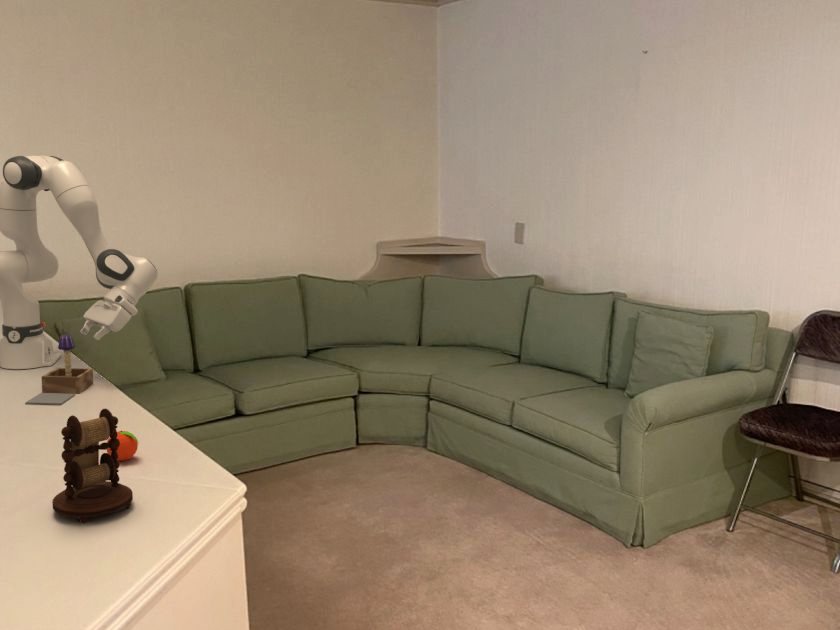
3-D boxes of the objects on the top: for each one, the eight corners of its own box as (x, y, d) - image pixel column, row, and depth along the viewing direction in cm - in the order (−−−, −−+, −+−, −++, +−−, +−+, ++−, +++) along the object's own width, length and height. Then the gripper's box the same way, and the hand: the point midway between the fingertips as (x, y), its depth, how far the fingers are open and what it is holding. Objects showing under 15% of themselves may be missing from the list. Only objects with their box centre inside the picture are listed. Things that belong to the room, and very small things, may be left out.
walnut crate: (57, 383, 245) (57, 367, 244) (93, 384, 246) (92, 368, 245) (42, 392, 234) (41, 376, 234) (79, 393, 235) (78, 377, 234)
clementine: (148, 457, 185) (147, 428, 184) (130, 467, 179) (129, 437, 177) (119, 453, 187) (118, 424, 186) (100, 463, 181) (99, 433, 179)
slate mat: (40, 394, 233) (40, 393, 232) (75, 395, 233) (75, 393, 233) (25, 404, 223) (25, 402, 223) (60, 405, 223) (60, 403, 223)
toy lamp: (72, 390, 238) (70, 337, 235) (57, 390, 238) (54, 336, 235) (79, 386, 242) (77, 333, 240) (64, 386, 242) (62, 333, 240)
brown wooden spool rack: (108, 488, 167) (105, 397, 163) (147, 508, 158) (145, 412, 154) (39, 509, 155) (34, 412, 152) (76, 532, 146) (72, 429, 143)
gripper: (97, 291, 253) (67, 324, 247) (126, 300, 239) (95, 335, 233) (111, 304, 257) (82, 336, 251) (140, 313, 242) (110, 347, 237)
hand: (88, 336), depth 242 cm, fingers open, 8 cm apart
